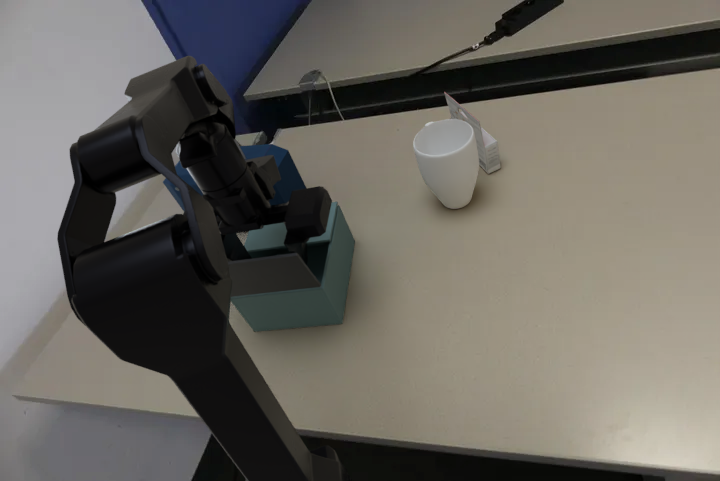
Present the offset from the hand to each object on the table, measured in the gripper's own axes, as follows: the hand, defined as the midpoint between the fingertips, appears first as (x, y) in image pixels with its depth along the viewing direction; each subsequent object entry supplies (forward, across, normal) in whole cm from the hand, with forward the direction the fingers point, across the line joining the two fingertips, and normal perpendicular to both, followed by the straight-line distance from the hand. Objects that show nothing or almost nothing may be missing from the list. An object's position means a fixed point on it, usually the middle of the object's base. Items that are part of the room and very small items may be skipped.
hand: (279, 267), depth 67 cm
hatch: (-4, 0, +4) cm, 6 cm away
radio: (+8, +13, -20) cm, 26 cm away
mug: (+8, -21, -18) cm, 29 cm away
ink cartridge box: (+8, -25, -26) cm, 37 cm away
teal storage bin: (+8, 0, -4) cm, 9 cm away
